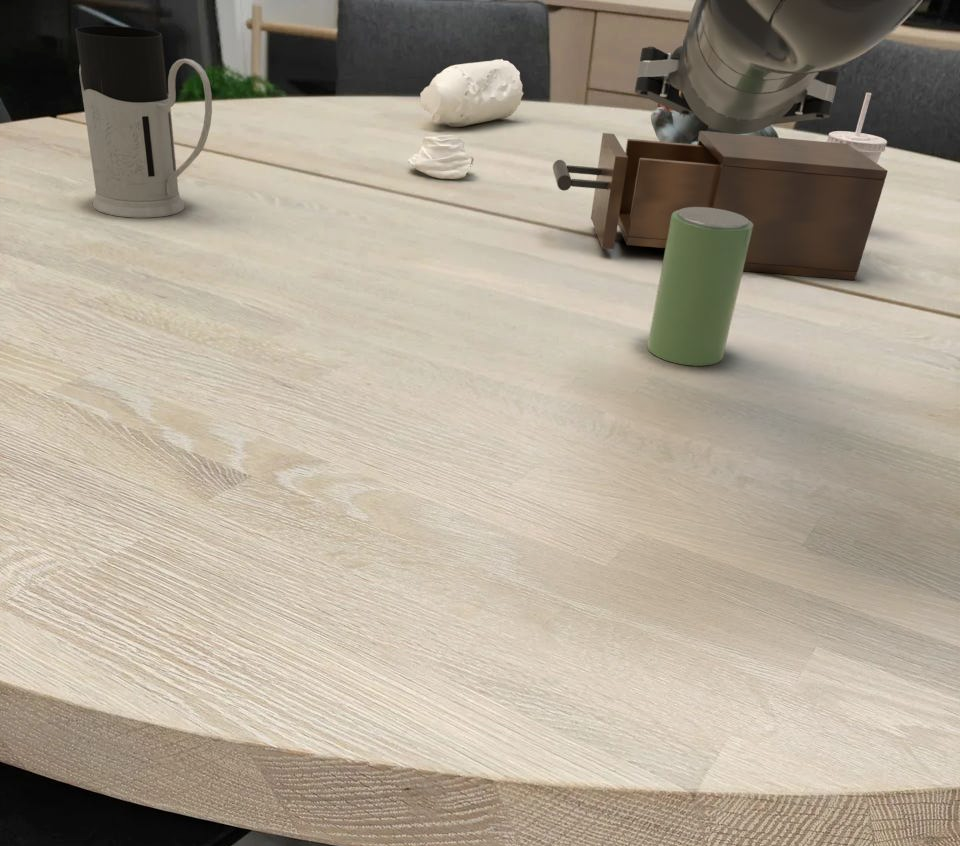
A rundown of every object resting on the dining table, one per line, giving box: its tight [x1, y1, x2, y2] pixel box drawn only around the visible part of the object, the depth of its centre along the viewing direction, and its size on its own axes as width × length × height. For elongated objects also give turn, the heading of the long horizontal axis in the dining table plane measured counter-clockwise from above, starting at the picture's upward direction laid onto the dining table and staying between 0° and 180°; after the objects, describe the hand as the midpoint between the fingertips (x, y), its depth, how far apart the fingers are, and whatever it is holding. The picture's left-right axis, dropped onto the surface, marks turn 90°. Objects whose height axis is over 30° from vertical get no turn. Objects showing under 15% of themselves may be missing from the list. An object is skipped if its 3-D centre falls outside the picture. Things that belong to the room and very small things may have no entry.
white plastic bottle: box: [419, 58, 525, 128], centre depth 146 cm, size 8×19×8 cm, turn 147°
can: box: [646, 207, 754, 367], centre depth 76 cm, size 6×6×10 cm
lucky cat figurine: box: [650, 91, 780, 145], centre depth 128 cm, size 15×12×14 cm
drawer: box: [552, 132, 721, 250], centre depth 100 cm, size 19×11×8 cm, turn 90°
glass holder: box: [74, 25, 213, 219], centre depth 94 cm, size 9×14×15 cm, turn 64°
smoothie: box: [825, 92, 888, 164], centre depth 111 cm, size 6×6×14 cm
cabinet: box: [697, 131, 889, 281], centre depth 100 cm, size 16×13×10 cm
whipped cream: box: [407, 135, 474, 180], centre depth 120 cm, size 8×7×5 cm
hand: (720, 114), depth 71 cm, fingers closed
